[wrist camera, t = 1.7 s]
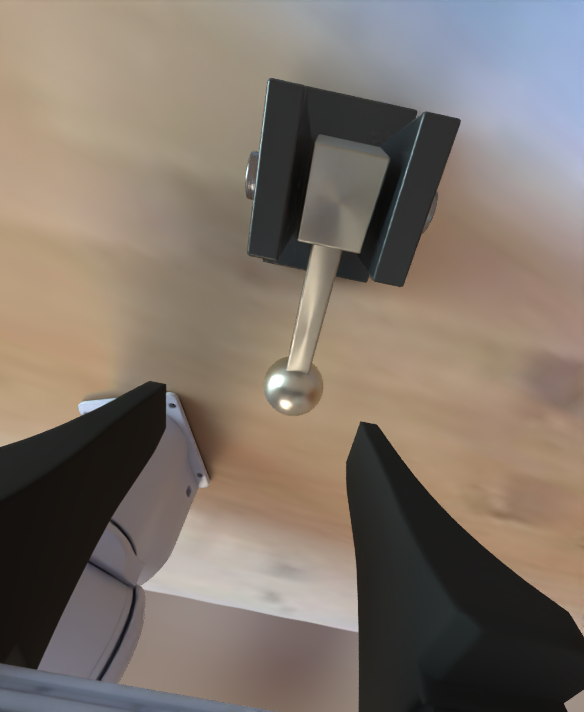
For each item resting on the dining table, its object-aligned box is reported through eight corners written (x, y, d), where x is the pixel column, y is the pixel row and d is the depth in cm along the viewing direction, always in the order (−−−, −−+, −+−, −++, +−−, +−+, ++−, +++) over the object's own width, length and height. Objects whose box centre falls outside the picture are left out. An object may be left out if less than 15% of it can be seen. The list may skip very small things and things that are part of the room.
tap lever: (317, 391, 18) (314, 433, 16) (266, 380, 18) (255, 421, 16) (393, 148, 11) (408, 162, 9) (306, 130, 11) (298, 138, 9)
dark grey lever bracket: (364, 278, 19) (399, 342, 11) (265, 257, 19) (224, 307, 11) (411, 115, 16) (518, 27, 7) (289, 89, 15) (257, -32, 7)
